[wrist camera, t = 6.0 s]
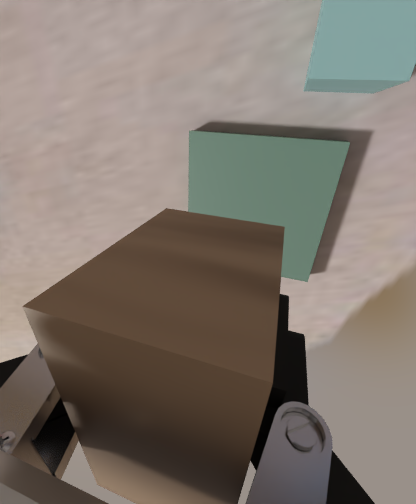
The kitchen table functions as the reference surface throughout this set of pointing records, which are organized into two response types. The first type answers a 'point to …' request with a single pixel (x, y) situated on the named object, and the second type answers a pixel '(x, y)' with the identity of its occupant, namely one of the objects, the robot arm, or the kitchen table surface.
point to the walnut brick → (168, 354)
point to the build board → (268, 186)
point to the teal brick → (362, 46)
